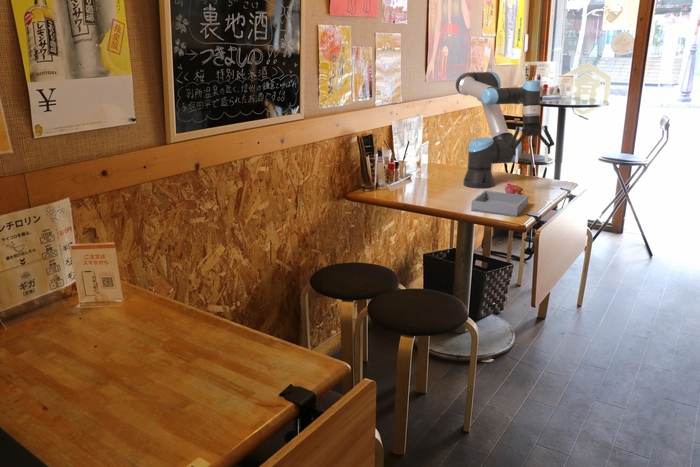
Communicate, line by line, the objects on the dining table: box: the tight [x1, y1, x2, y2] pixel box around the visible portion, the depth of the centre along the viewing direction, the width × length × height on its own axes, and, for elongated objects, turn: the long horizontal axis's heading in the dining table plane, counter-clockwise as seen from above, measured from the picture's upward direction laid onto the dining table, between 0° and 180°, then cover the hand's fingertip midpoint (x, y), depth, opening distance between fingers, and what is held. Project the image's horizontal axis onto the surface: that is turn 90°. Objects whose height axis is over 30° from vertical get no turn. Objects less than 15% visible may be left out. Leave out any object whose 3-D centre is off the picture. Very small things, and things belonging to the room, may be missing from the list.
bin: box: [470, 190, 529, 218], centre depth 251 cm, size 20×20×4 cm
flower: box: [504, 180, 525, 195], centre depth 267 cm, size 10×9×8 cm
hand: (531, 162), depth 267 cm, fingers open, 13 cm apart
